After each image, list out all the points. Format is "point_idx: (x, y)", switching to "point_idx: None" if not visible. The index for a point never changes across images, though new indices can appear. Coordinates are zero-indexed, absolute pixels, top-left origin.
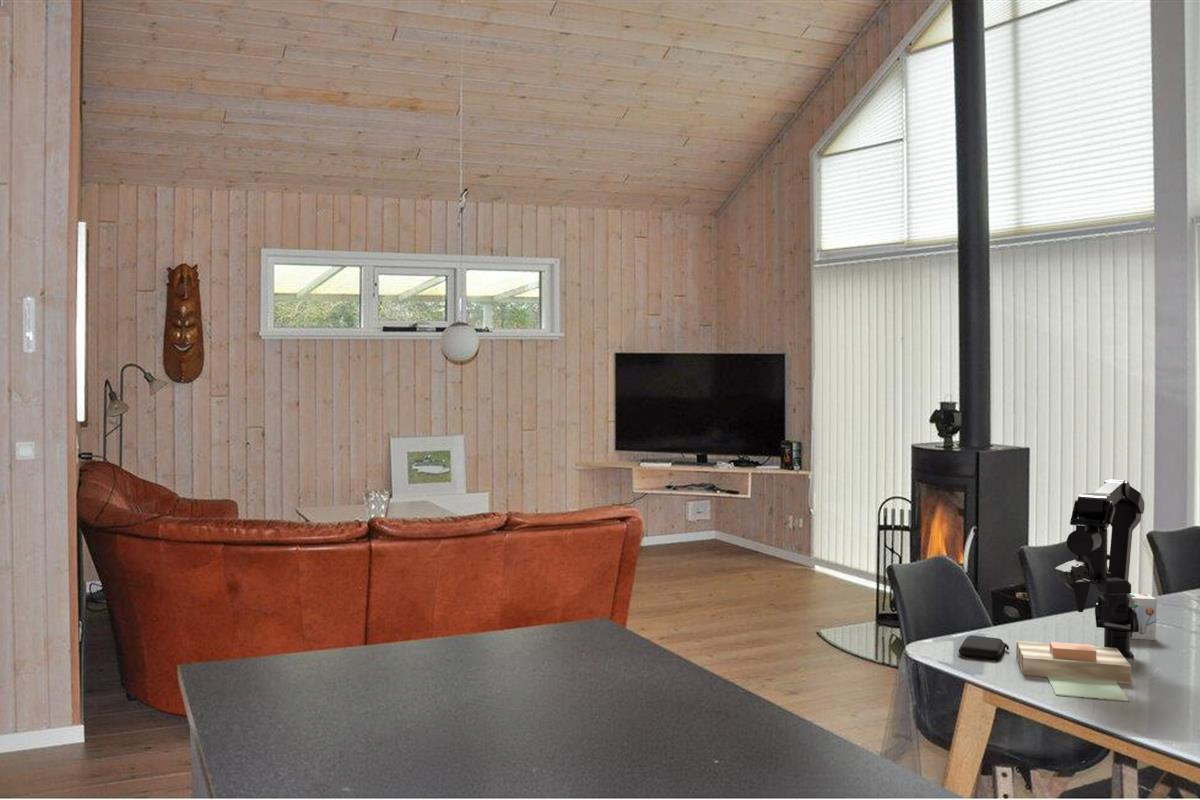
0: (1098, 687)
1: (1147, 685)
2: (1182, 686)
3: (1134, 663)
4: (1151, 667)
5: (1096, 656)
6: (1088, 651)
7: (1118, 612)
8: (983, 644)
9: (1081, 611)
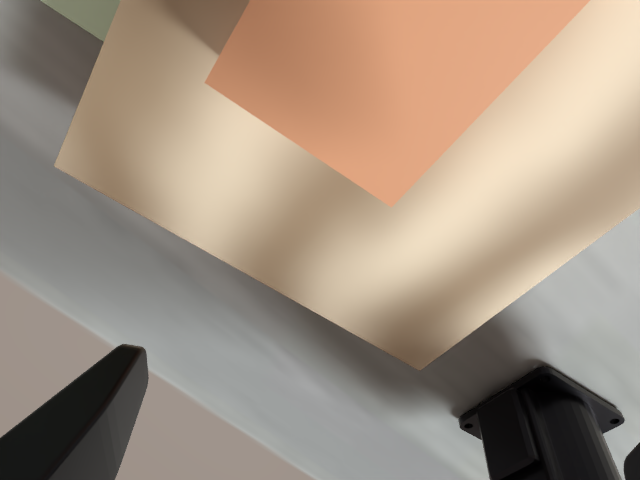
0: None
1: None
2: (65, 291)
3: (400, 373)
4: (329, 381)
5: None
6: (238, 25)
7: None
8: None
9: (635, 458)
